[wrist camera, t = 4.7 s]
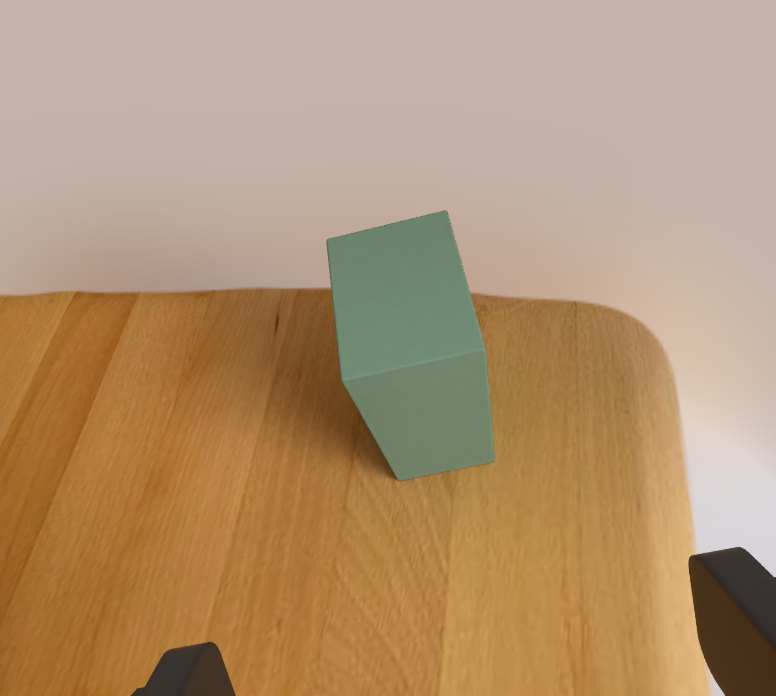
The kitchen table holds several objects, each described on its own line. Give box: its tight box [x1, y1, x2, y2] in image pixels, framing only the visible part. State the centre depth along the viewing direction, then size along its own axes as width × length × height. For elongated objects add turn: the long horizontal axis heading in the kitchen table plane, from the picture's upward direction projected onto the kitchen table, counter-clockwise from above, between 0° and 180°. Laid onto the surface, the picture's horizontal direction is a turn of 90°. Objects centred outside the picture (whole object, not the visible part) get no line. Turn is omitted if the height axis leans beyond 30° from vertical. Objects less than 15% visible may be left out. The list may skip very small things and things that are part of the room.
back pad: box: [327, 211, 495, 481], centre depth 23 cm, size 4×6×10 cm
